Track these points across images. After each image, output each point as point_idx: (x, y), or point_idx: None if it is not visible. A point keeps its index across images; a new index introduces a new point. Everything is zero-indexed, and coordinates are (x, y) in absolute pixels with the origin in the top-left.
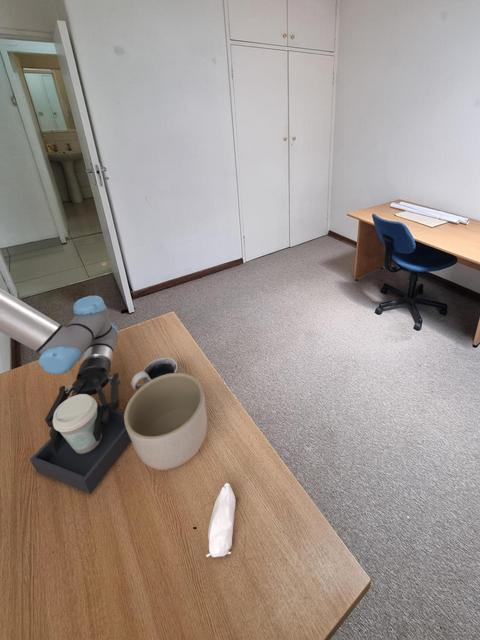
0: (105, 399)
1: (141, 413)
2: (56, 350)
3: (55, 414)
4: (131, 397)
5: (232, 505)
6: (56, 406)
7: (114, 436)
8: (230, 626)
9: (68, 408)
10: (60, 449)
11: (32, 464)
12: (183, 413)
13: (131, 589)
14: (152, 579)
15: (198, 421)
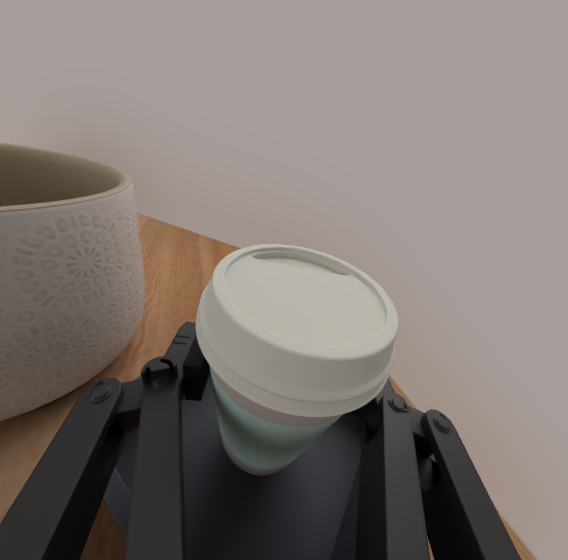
0: (143, 434)
1: (41, 333)
2: None
3: (376, 288)
4: (11, 210)
5: None
6: (472, 521)
7: (185, 448)
8: (150, 218)
9: (332, 295)
10: (350, 472)
11: None
12: None
13: (210, 251)
14: (191, 248)
15: None
